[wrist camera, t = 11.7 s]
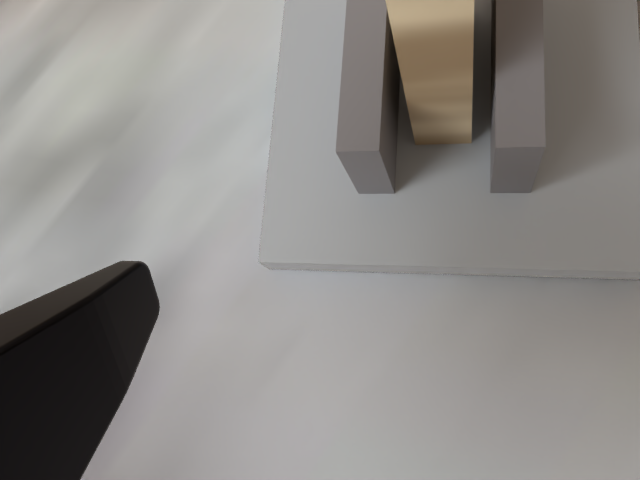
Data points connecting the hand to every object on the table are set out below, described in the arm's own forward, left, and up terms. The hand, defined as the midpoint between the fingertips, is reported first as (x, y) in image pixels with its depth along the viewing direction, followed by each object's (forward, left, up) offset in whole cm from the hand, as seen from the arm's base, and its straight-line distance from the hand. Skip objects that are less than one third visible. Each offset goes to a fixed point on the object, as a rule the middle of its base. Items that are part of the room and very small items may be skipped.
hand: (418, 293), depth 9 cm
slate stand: (+7, -1, -7) cm, 10 cm away
